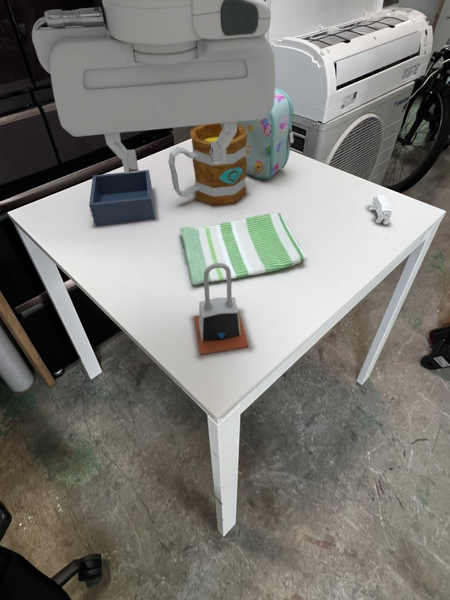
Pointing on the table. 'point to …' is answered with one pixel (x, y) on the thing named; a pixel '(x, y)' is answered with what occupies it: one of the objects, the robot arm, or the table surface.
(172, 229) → the table surface
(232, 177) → the mug
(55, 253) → the table surface
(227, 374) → the table surface
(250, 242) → the dish towel
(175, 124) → the robot arm
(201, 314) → the padlock
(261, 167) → the lunch box
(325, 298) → the table surface
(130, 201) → the basket
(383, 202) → the figurine
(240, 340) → the mat
